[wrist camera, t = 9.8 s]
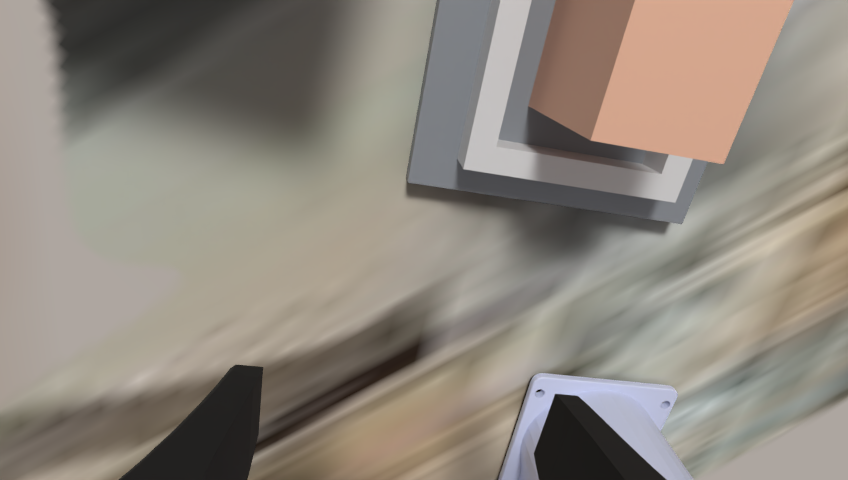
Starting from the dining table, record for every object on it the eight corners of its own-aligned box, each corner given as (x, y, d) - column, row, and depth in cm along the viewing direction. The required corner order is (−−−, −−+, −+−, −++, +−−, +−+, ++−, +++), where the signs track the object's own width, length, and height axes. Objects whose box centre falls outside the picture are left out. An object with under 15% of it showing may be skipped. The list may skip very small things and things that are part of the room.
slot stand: (669, 215, 22) (702, 238, 20) (406, 175, 20) (410, 194, 18) (821, -164, 17) (891, -194, 15) (483, -265, 15) (501, -316, 13)
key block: (696, -84, 17) (852, -136, 11) (625, 123, 19) (723, 164, 14) (585, -113, 16) (692, -183, 11) (528, 105, 19) (590, 140, 13)
